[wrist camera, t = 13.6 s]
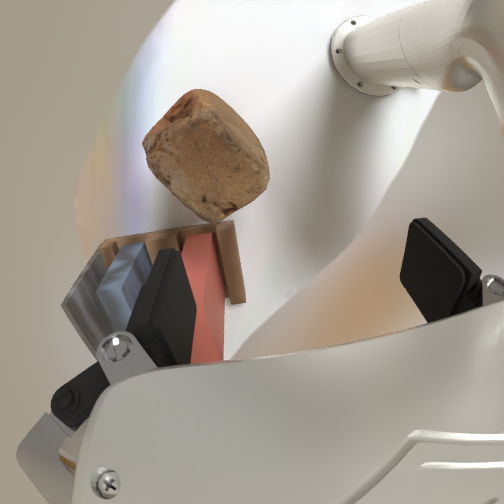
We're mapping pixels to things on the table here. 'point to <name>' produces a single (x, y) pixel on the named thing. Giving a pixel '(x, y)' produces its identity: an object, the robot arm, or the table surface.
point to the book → (205, 297)
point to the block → (207, 156)
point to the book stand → (139, 277)
